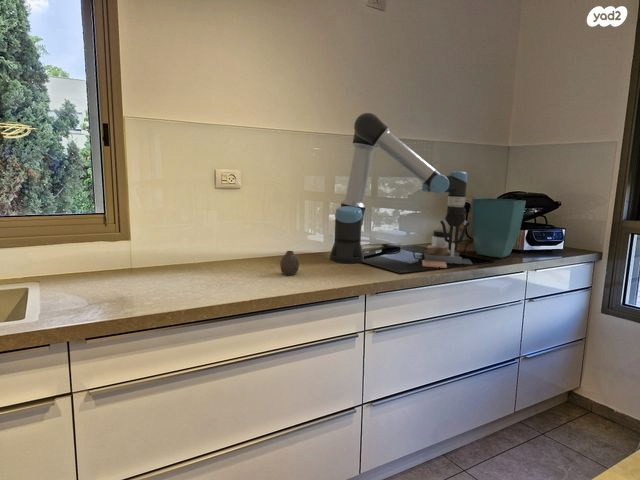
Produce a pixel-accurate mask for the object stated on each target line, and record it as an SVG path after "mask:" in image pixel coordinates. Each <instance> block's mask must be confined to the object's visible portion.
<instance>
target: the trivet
mask: <svg viewBox="0 0 640 480" xmlns="http://www.w3.org/2000/svg"><path fill="white" fill-rule="evenodd" d="M421 265H422V267H426V268H427V267H429V268H439V267H440V268H442V269H447V268H448V265H447V263H446V262H442V261H429V260H424V259H422V260H421Z"/></svg>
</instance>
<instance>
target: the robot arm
mask: <svg viewBox="0 0 640 480" xmlns="http://www.w3.org/2000/svg"><path fill="white" fill-rule="evenodd" d="M353 129H354V133H353V138H352V146H353V147H354V150H353V151H354V152H353V157H352V162H351V166H350V167H351V168H350V173H349V178H348V182H347V188H346V194H345V199H344V200H343V201H341V202H340V206H339V207H337V208H336V210H335V213H334V217H335V218H334V221H335V222H334V242H333V245H332V248H331V251H330V253H329V260H330V261H332V262H335V263H343V264H360V263H363V262H364V261H365V255H364V251H363V248H362V243H361V241H362V239H361V238H362V226H363V224H364V217H365V212H366V205H365V203H364V201H365V197H366V196H365V195H366V191H367V185H368V179H369V175H370V170H371V165H372V160H373V155H374V152H375V150H377V149H378V148H379V149H380V150H381V151H384V152H385V153H386V154H387V155H388V156H389V157H390V158H392V159H393V160H394V161H395V162H396V163H397V164H400V166H402V167H403V168H404V169H405V170H406V171H408V172H409V173H410V174H412V176H414V177H415V178H417V180H419V181H420V182H421V190H422V192H426V193H435V194H443V193H445V194H446V193H447V194H448V196H447V205H448V206H447V207H446V209H447V210H446V216H445V218H444V219H442V220H440V221H439V223H440V224H441V226H442V230H443V233H444V239H445V241H446V242H448V243H449V244H448V250H450V256H453V257H454V253H455V251H457V250H458V244H460V243H462V242H463V240H464V237H465V234H466V230H467V228H468V227H469V226H470V222H469V221H467V220H466V217H465V209H466V207H465V206H466V198H467V197H466V196H467V185H468V173H467V172H465V171H450V172H449V175H444V174H442V173H440V172H439V171H438V170H437V169H436V168H435V167H433V166H432V165H430V163H428V162H427V161H426V160H425V159H424V158H422V157H421V156H420V155H419V154H418V153H416V152H415V151H413V149H411V148H410V147H409V146H408V145H407V144H405V143H404V142H403V141H401V140H400V139H399V138H398V137H397V136H395V135H394V134H393V133H392V132H391V131H390V127H388V126H387V125H386V124H385V123H384V122H383V121H382V120H381V119H380V118H379V117H378V116H377V115H376V114H375V113H372V112H364V113H361V114H360V115H358V117H357V118H356V119H355V121H354V123H353ZM446 224H448V226H449V230H448V231H449V239H447V233H446V231H447V228H446ZM462 224H463V227H462V229H461V232H460V231H459V230H460V227H461V225H462ZM454 227H455V230H454ZM453 231H454V232H453ZM459 232H460V234H459ZM453 233H454V242H453Z"/></svg>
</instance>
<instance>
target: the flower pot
mask: <svg viewBox="0 0 640 480" xmlns="http://www.w3.org/2000/svg"><path fill="white" fill-rule="evenodd" d="M471 202H472V203H471V204H472V205H471V206H472V207H471V210H472V212H471V232H472V240H473V241H472V242H473V245H474V248H475V249H474V250H475V252H476V254H477V255H480V256H487V257H493V258H499V259H502V258H505V257H508V256H510V255H511V253H512V250H513V249H514V247H515V244H516V242H517V240H518V237H519V233H520V231H521V227H522V222H523V218H524V212H525V207H526V203H527V201H526V200H521V199H520V200H518V199H506V198H504V199H503V198H491V197H489V198H487V197H482V198H481V197H480V198H479V197H478V198H477V197H476V198H472V201H471Z"/></svg>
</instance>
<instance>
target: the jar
mask: <svg viewBox="0 0 640 480" xmlns="http://www.w3.org/2000/svg"><path fill="white" fill-rule="evenodd" d="M449 231H450V230H446V233H447V239H449ZM448 244H449V243H448V242H446V241H445V239H444V233H443V229H437V230H433V235H432V236H431V246H443V247H448ZM447 252H450V250H448V251H447Z"/></svg>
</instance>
